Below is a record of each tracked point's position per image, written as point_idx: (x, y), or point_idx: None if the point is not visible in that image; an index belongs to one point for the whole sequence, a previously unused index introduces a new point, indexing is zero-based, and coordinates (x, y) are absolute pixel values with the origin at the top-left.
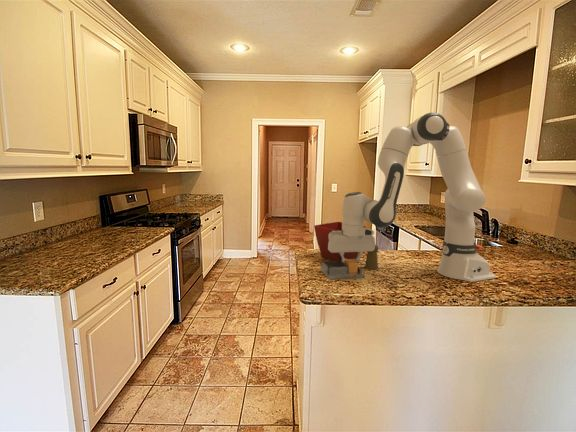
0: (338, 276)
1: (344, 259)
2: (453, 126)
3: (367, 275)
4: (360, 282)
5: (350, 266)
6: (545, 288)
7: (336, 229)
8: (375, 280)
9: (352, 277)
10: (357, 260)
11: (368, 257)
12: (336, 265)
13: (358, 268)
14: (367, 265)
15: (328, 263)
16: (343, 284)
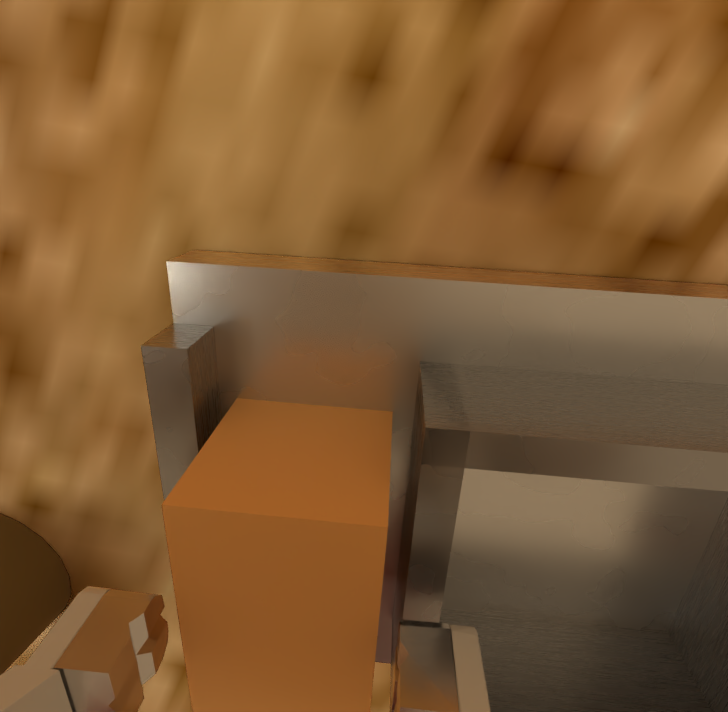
0: (655, 291)
1: (451, 682)
2: None
3: (105, 347)
4: (320, 58)
5: (352, 473)
6: None
7: None
8: (29, 111)
9: (384, 265)
10: (130, 609)
11: None
12: (485, 644)
13: (195, 438)
14: (15, 589)
15: (635, 699)
16: (691, 6)
